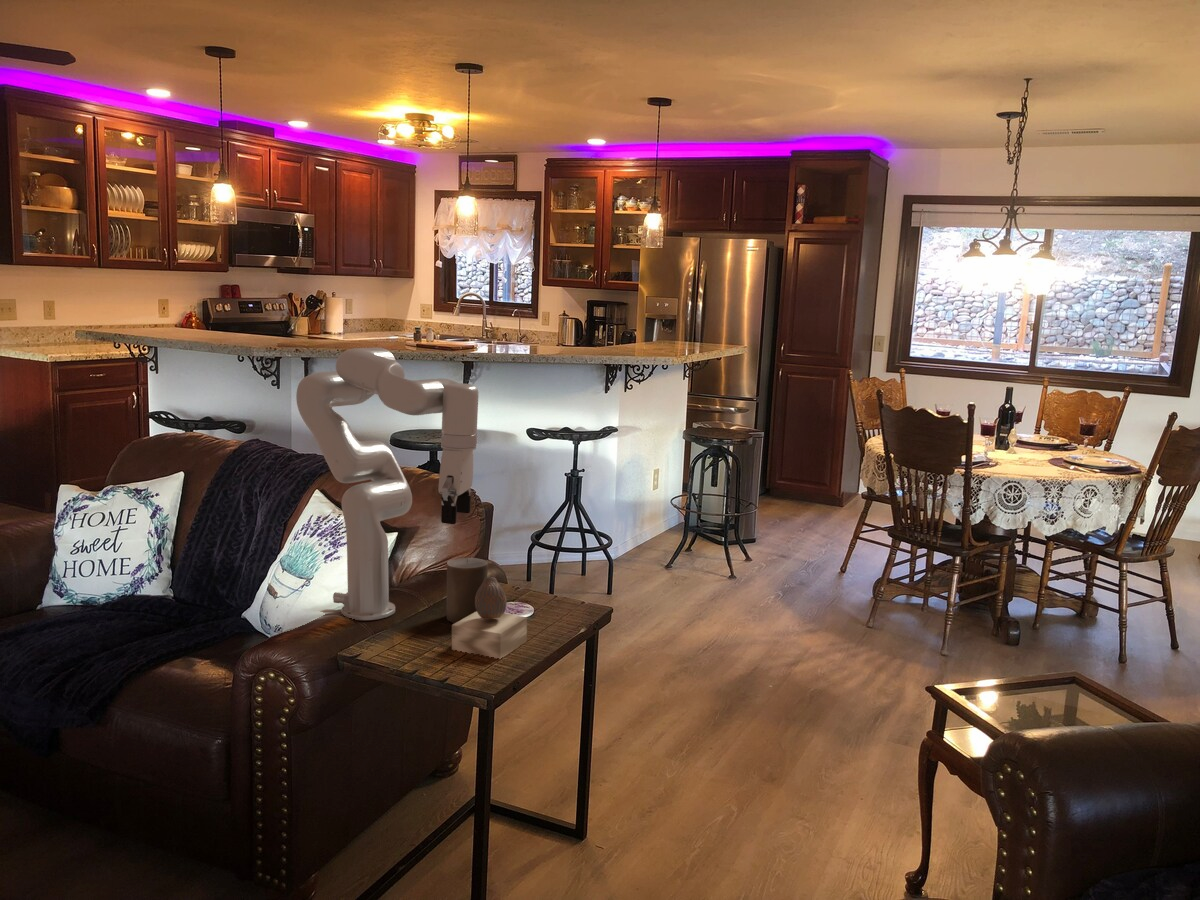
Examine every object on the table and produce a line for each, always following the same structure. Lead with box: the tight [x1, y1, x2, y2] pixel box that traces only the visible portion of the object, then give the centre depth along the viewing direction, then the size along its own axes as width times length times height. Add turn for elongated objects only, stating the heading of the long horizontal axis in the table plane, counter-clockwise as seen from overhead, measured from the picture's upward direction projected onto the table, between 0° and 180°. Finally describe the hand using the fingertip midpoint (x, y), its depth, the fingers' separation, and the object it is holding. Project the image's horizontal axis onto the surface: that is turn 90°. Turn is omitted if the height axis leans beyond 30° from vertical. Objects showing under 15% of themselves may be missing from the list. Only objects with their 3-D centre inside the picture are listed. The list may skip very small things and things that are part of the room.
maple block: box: [451, 611, 528, 660], centre depth 209 cm, size 12×12×6 cm
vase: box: [475, 576, 508, 619], centre depth 209 cm, size 7×7×9 cm
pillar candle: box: [445, 557, 489, 624], centre depth 226 cm, size 10×10×15 cm
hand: (455, 517), depth 209 cm, fingers open, 9 cm apart
